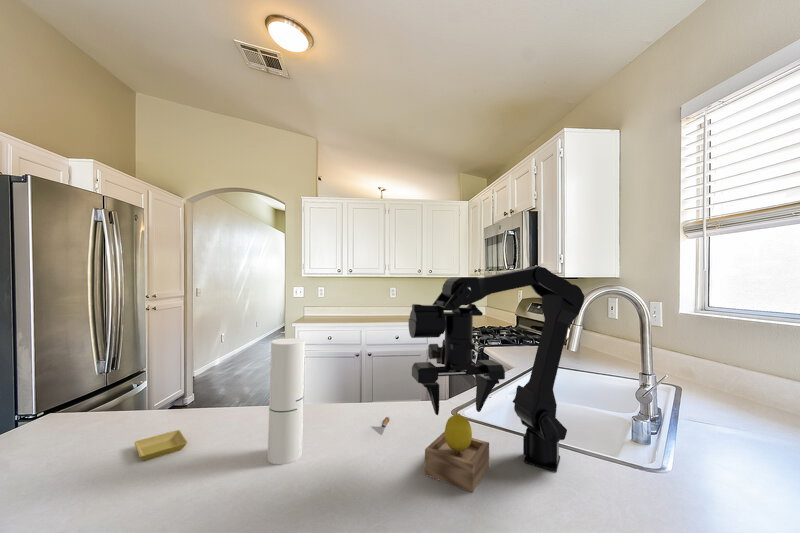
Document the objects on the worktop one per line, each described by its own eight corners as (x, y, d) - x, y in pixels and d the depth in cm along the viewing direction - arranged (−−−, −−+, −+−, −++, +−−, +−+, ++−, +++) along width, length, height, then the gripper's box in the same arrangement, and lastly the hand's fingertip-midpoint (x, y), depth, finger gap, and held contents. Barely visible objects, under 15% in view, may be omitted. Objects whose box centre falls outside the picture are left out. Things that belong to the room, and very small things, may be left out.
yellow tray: (187, 451, 73) (188, 442, 74) (138, 466, 67) (139, 456, 67) (179, 438, 80) (179, 429, 80) (133, 450, 73) (134, 441, 74)
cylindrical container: (308, 451, 74) (311, 340, 75) (285, 467, 67) (288, 345, 68) (284, 444, 77) (287, 337, 78) (260, 459, 70) (264, 342, 71)
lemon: (474, 460, 64) (474, 419, 65) (446, 460, 64) (446, 419, 65) (468, 446, 70) (469, 408, 70) (443, 446, 70) (443, 408, 70)
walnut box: (489, 466, 69) (489, 442, 69) (472, 492, 60) (472, 464, 60) (445, 452, 74) (445, 430, 74) (424, 474, 65) (425, 449, 66)
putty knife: (359, 445, 79) (379, 446, 78) (358, 439, 79) (378, 441, 78) (372, 419, 92) (390, 420, 91) (372, 415, 92) (390, 416, 91)
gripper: (481, 330, 78) (481, 396, 77) (406, 331, 74) (404, 401, 73) (506, 338, 67) (506, 415, 67) (419, 340, 63) (418, 422, 62)
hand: (457, 412), depth 67 cm, fingers open, 9 cm apart
